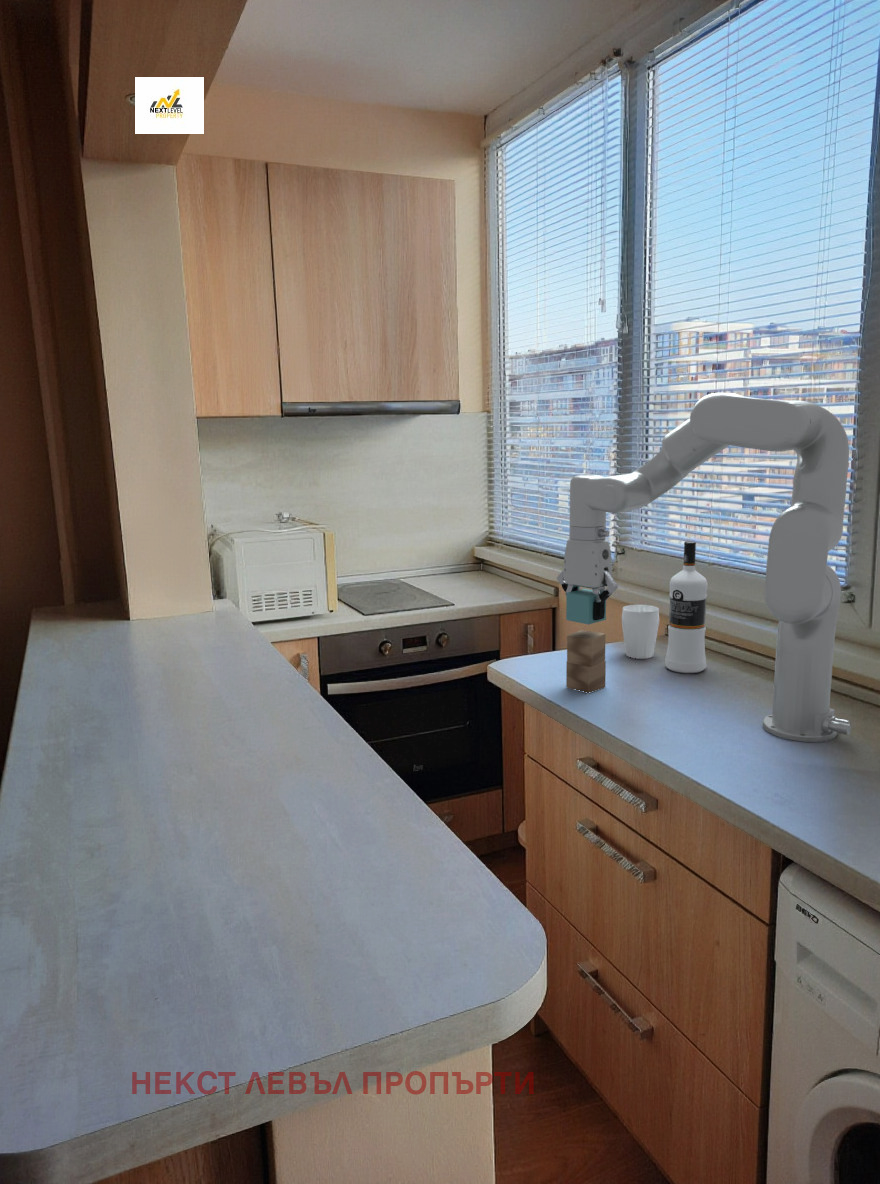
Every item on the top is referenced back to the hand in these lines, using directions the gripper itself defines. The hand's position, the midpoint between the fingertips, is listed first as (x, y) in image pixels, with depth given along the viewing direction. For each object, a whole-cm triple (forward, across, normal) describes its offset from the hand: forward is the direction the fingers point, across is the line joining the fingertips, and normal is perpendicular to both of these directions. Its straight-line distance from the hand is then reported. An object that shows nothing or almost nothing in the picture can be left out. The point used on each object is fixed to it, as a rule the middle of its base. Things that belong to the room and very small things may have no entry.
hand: (585, 615), depth 175 cm
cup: (+16, +6, -29) cm, 34 cm away
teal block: (+1, 0, 0) cm, 1 cm away
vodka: (+16, -8, -27) cm, 33 cm away
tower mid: (+10, 0, 0) cm, 10 cm away
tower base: (+16, 0, 0) cm, 16 cm away
